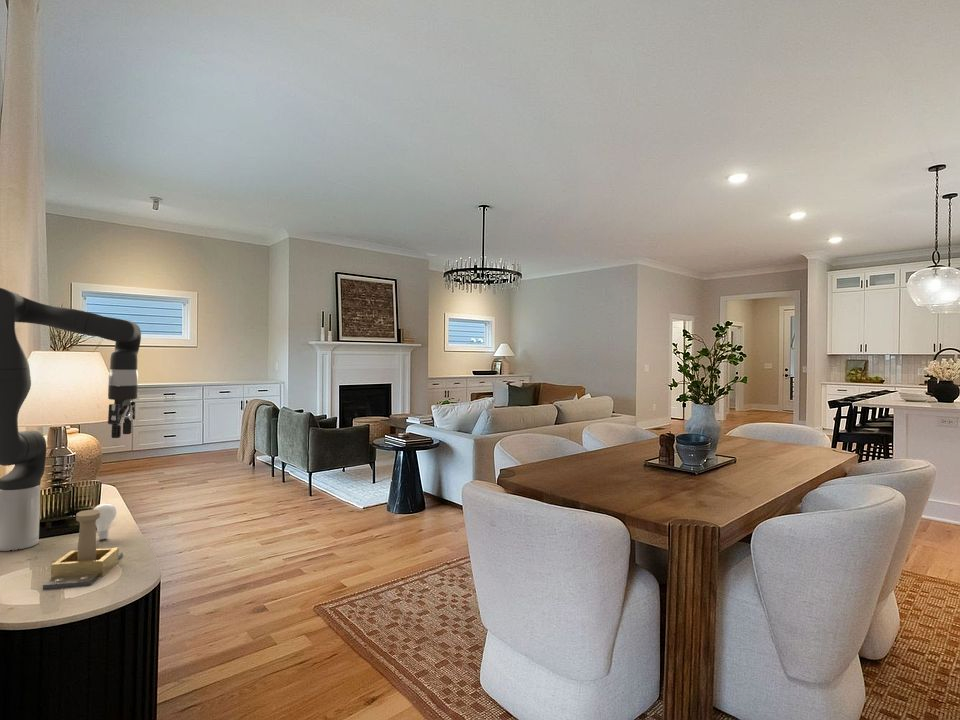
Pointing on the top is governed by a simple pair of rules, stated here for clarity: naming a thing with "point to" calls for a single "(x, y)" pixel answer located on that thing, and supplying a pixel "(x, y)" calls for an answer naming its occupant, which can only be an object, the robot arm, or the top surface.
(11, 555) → the top surface
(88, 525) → the handle
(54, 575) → the wooden frame on plate
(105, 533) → the lightbulb
